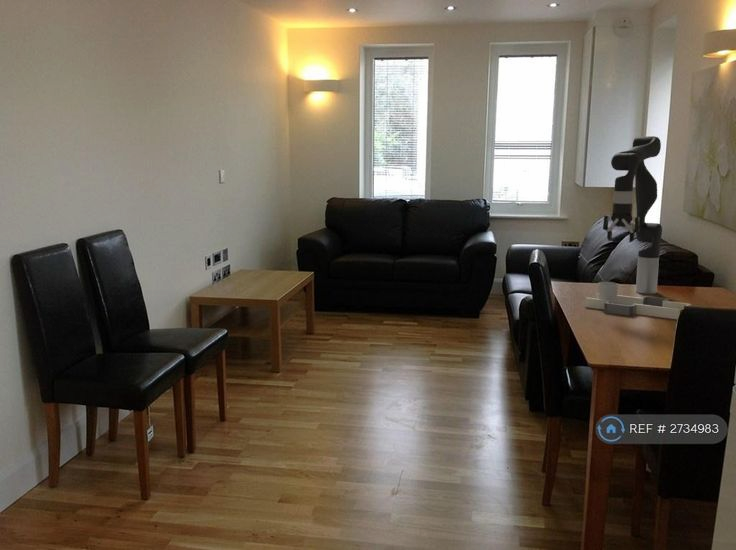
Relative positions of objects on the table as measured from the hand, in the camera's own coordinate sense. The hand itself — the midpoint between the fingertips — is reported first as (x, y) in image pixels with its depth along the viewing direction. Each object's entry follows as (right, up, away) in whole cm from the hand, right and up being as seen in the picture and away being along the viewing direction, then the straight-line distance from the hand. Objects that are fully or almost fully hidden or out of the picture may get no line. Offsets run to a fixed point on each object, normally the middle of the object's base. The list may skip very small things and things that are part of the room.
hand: (620, 241), depth 269 cm
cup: (-1, -28, +11) cm, 30 cm away
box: (+8, -29, +4) cm, 30 cm away
